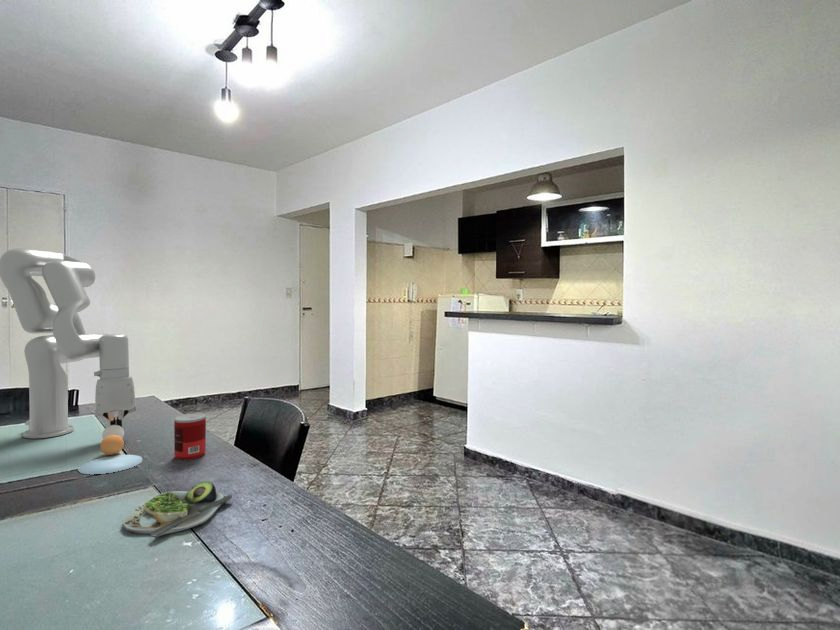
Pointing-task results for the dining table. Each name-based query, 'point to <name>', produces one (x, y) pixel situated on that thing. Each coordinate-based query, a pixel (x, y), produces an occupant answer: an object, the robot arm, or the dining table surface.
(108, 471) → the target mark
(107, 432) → the white egg
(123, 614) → the dining table surface
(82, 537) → the dining table surface
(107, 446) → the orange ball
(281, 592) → the dining table surface
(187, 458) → the canned food
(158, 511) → the avocado toast plate
